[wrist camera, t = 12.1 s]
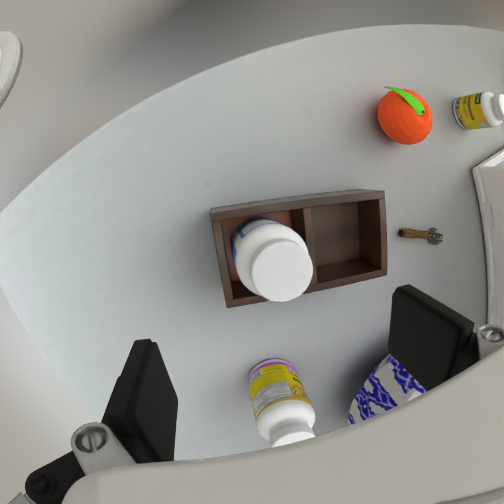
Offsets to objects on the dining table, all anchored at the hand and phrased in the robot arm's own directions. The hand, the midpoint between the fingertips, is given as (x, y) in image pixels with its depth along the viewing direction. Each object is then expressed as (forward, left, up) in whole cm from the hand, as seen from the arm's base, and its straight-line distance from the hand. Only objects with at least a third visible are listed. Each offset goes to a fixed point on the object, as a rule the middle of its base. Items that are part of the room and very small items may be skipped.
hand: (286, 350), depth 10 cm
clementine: (-1, +24, -22) cm, 33 cm away
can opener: (+15, +20, -22) cm, 33 cm away
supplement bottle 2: (+5, +40, -22) cm, 46 cm away
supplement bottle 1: (+18, -8, -22) cm, 29 cm away
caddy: (+4, +5, -22) cm, 23 cm away
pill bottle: (+2, +2, -21) cm, 21 cm away
